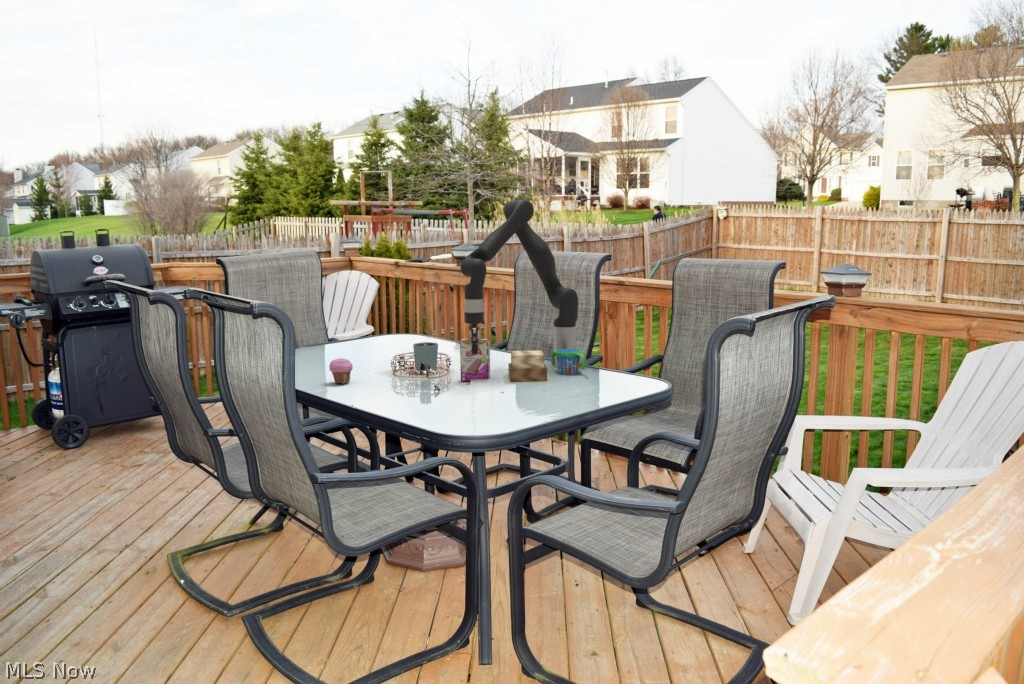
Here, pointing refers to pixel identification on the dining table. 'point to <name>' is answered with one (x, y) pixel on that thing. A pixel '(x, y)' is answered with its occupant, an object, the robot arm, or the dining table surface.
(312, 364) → the dining table surface
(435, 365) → the grey green cup
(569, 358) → the snack cup
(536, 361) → the maple block
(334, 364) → the cupcake
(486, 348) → the candy bar box
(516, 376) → the walnut block
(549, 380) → the sage mat
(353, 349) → the dining table surface
